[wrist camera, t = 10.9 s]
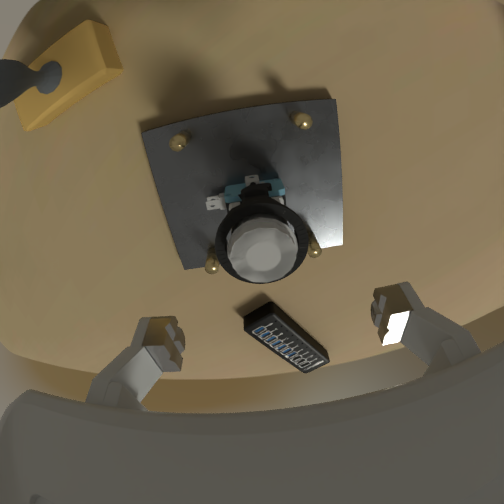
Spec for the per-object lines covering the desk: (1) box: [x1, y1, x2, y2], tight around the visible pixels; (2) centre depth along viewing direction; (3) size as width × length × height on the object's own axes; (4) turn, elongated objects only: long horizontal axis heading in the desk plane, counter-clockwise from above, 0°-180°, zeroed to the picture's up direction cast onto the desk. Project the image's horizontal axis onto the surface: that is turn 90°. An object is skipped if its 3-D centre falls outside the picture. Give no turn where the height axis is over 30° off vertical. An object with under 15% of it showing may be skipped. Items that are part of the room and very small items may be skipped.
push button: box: [206, 175, 309, 284], centre depth 19 cm, size 7×5×10 cm
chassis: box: [142, 99, 343, 274], centre depth 22 cm, size 16×14×4 cm
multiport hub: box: [243, 302, 330, 373], centre depth 35 cm, size 4×14×2 cm, turn 39°
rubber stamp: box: [0, 20, 123, 131], centre depth 12 cm, size 10×6×12 cm, turn 108°
